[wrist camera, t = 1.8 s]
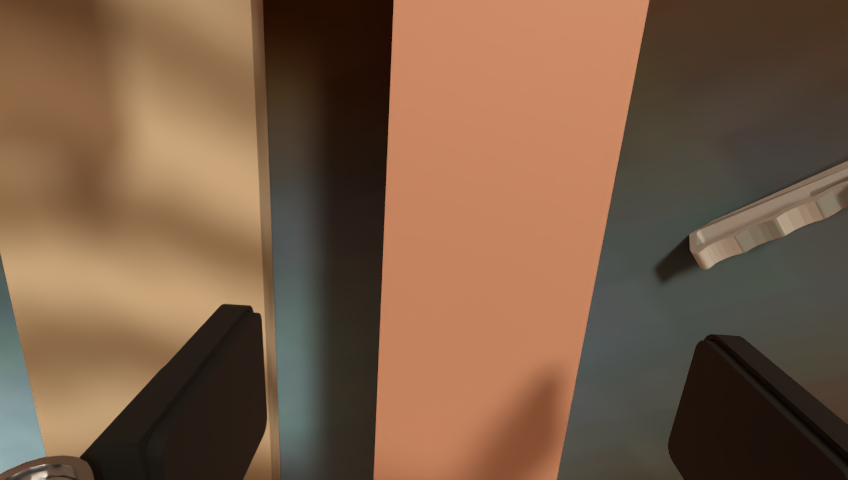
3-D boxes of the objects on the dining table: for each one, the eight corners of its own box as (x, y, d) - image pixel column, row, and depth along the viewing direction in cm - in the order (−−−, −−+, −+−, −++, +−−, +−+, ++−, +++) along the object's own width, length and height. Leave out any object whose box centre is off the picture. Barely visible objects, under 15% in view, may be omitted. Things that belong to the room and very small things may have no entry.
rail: (503, 479, 24) (527, 627, 18) (387, 470, 24) (367, 614, 18) (587, -85, 17) (688, -203, 10) (417, -97, 17) (403, -220, 10)
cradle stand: (282, 518, 25) (150, 876, 14) (78, 502, 25) (-221, 844, 14) (253, -238, 15) (-300, -1207, 4) (-80, -258, 15) (-1576, -1252, 4)
